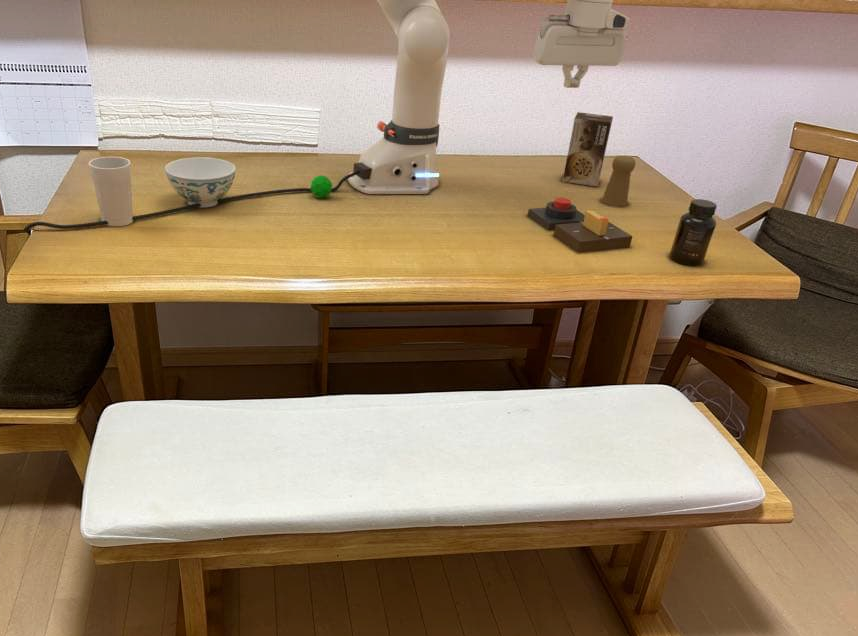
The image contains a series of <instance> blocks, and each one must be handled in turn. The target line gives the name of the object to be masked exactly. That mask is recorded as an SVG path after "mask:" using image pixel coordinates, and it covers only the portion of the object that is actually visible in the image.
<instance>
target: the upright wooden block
mask: <svg viewBox="0 0 858 636" xmlns="http://www.w3.org/2000/svg"><path fill="white" fill-rule="evenodd" d="M584 215H585V217H584V222H583V226H585V227H586V228H588V229H589V230H591V231H592V232H594V233H596V234H597V235H599V236H601V235H605V234H606V230H607V226H608V222H610V221H609V219H608V218H607V217H604V216H603V215H601V214H599V213H598V212H595V211H594V210H586V211H585V213H584Z"/></svg>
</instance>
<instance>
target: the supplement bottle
mask: <svg viewBox="0 0 858 636" xmlns="http://www.w3.org/2000/svg"><path fill="white" fill-rule="evenodd" d="M716 210H717V204H716V203H715V202H713V201H711V200H708V199H702V198H696V199H692V200H691V201H690V204H689V206H688V211H687V212H685V213H683V214H682V215H681V216H680V219H679V222H678V225H677V229H676V231H675V235H674V238H673V241H672V245H671V248H670V252H669V257H670V259H671V260H673V261H674V262H676V263H677V264H679V265H684V266H693V267H695V266H700V265H702V264H703V263H704V261H705V259H706V257H707V253H708V250H709V248H710V245H711V242H712V239H713V236H714V232H715V231H716V230H715V229H716V228H717V227H716V226H717V221H716V218H715V217H714V216H715V214H716Z"/></svg>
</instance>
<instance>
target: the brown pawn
mask: <svg viewBox="0 0 858 636" xmlns="http://www.w3.org/2000/svg"><path fill="white" fill-rule="evenodd" d="M635 167H636V160H635V158H633V157H631V156H628V155H617V156H615V157H614V158H613V160H612V165H611V168H612V173H611V175H610V178H609V180H608V182H607V184H606V188H605V191H604V193H603V196H602V199H601V202H602V203H603V204H605V205H607V206H611V207H617V208H623V207H626V206H627V205H628V200H629V199H628V198H629V191H630V184H631V183H630V182H631V175H632V172H633V171H634V170H635Z"/></svg>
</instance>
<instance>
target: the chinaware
mask: <svg viewBox="0 0 858 636" xmlns="http://www.w3.org/2000/svg"><path fill="white" fill-rule="evenodd" d="M236 169H237V168H236V165H235V164H233V163H232V162H230V161H228V160H224V159H220V158H217V157H201V156H200V157H199V156H198V157H185V158H179V159H176V160H173V161H171V162H169V163H167V164H166V165H165V167H164V171H165V175H166V177H167V180H168V181H169V184H170V185H171V187H172V188H173V190H174V191H175V192H176V193H177V194H178V195H179V196H180V197H182V198H183V199H184V200H186V202H187V204H188V205H193V204H201V206H200V207H199V208H201V209H202V208H211V207H215V206H217V205H218V204H219V203H217V200H219V199H222V198H224V196H226V194H227V193H228V192H229V191H230V189H231V187H232V185H233V183H234V180H235V178H236V177H235V176H236Z"/></svg>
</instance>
